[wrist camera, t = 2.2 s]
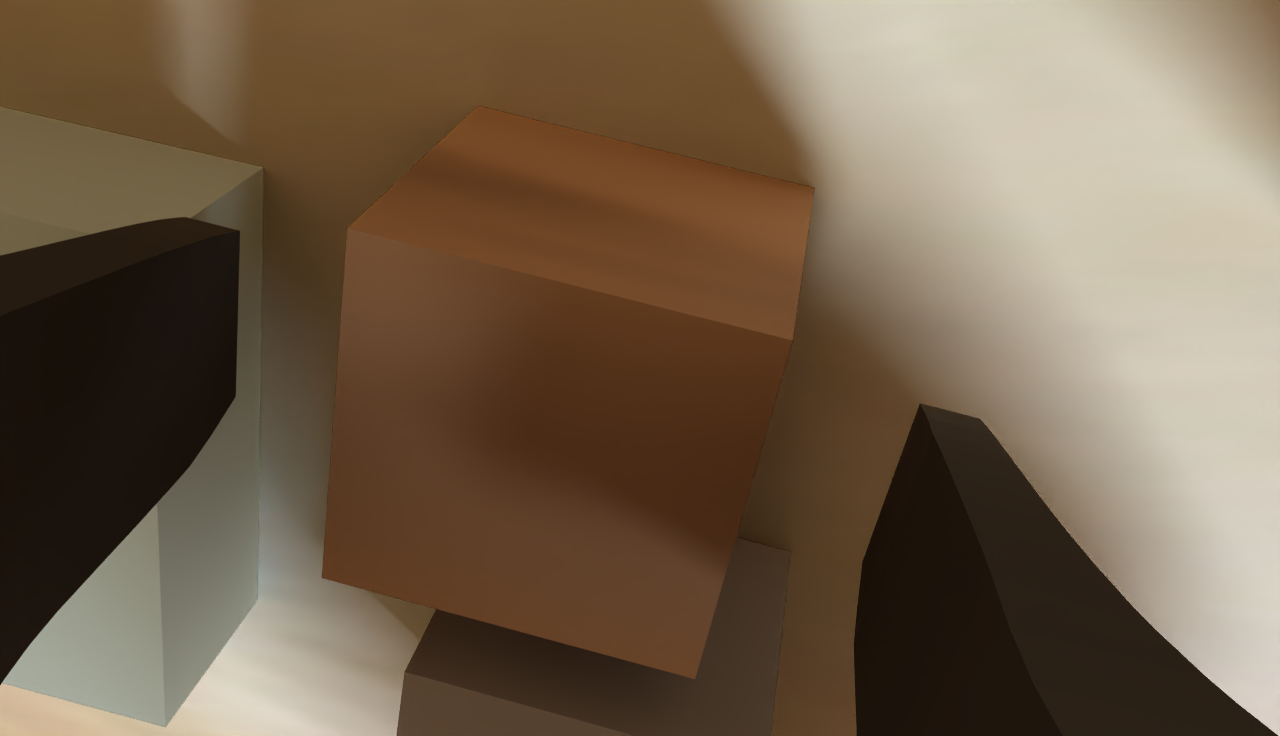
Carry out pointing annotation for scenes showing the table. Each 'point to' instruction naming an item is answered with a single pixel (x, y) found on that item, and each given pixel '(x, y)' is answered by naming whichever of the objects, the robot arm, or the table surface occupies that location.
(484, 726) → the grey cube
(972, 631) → the robot arm
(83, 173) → the base block
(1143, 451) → the table surface
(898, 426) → the table surface
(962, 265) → the table surface
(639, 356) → the walnut cube
